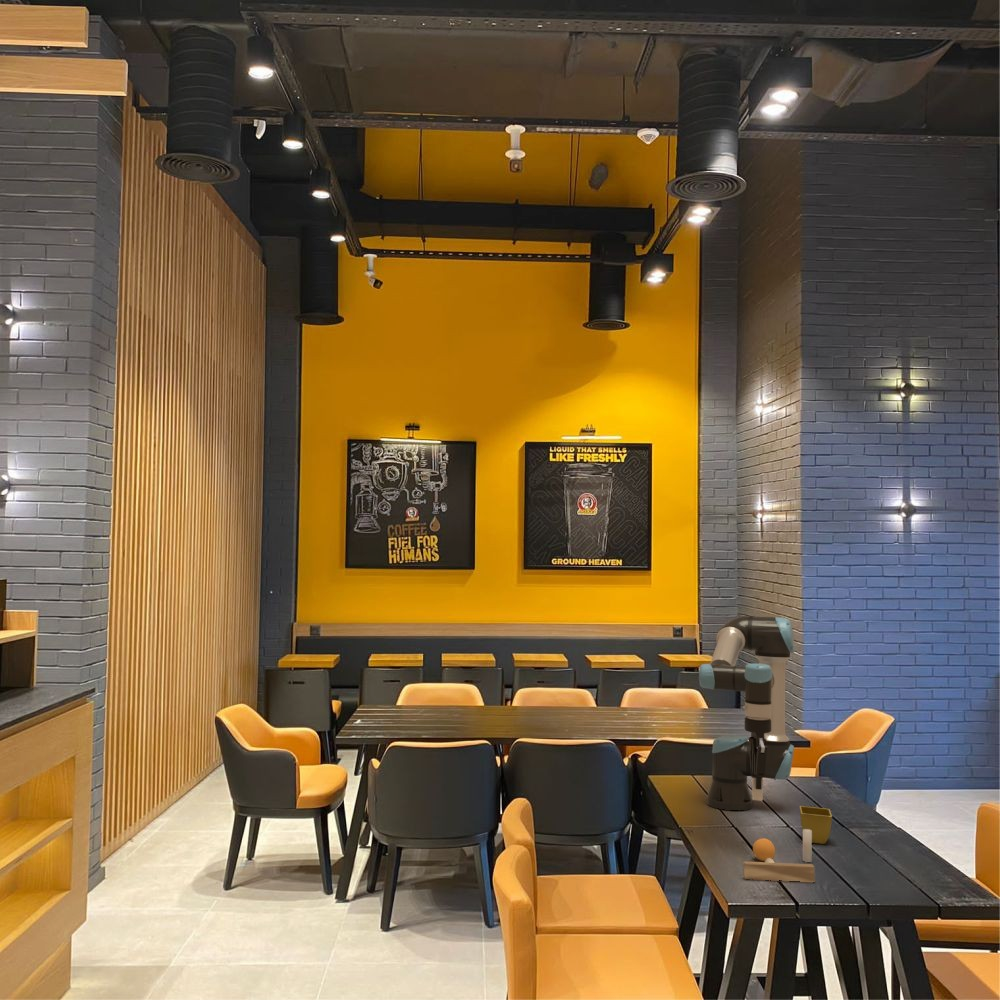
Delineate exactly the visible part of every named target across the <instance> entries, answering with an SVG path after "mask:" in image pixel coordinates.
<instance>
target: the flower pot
mask: <svg viewBox="0 0 1000 1000" xmlns="http://www.w3.org/2000/svg"><path fill="white" fill-rule="evenodd" d="M799 816H800V824H801V830H802V832H803V829H809V830H812V843H813V844H821V845H824V844H826V843H827V841H828V839H829V836H830V834H831V829H832V821H833V815H832V811H831V810H830V808H824V807H823V808H822V807H814V806H803V805H799Z"/></svg>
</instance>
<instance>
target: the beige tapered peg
mask: <svg viewBox="0 0 1000 1000" xmlns="http://www.w3.org/2000/svg"><path fill="white" fill-rule="evenodd" d="M812 848H813V847H812V830H809V829H803V831H802V862H803V861H805V862H804V863H807V862H811V863H812V861H813V855H812V854H813V852H812V850H813V849H812Z"/></svg>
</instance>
